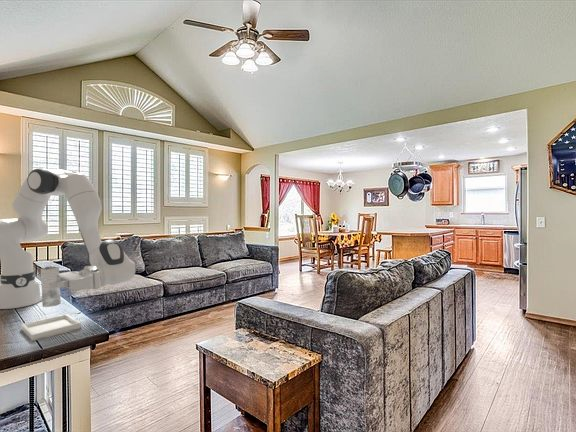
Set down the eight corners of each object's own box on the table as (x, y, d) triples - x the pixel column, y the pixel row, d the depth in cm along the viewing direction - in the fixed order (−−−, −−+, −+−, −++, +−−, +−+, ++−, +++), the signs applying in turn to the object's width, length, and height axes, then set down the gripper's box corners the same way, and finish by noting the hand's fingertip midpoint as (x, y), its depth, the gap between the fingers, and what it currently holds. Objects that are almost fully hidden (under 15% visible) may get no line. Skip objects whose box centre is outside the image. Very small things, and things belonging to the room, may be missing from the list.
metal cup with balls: (40, 305, 115) (38, 266, 114) (58, 301, 119) (56, 264, 118) (44, 307, 111) (42, 267, 111) (62, 304, 115) (60, 265, 115)
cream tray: (21, 329, 116) (21, 324, 116) (67, 318, 127) (67, 313, 126) (32, 341, 106) (32, 335, 105) (81, 328, 116) (81, 322, 116)
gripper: (81, 266, 131) (39, 272, 121) (101, 272, 118) (55, 279, 107) (82, 281, 132) (40, 289, 121) (101, 289, 118) (56, 298, 108)
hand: (47, 284), depth 114 cm, fingers closed on metal cup with balls, 5 cm apart
